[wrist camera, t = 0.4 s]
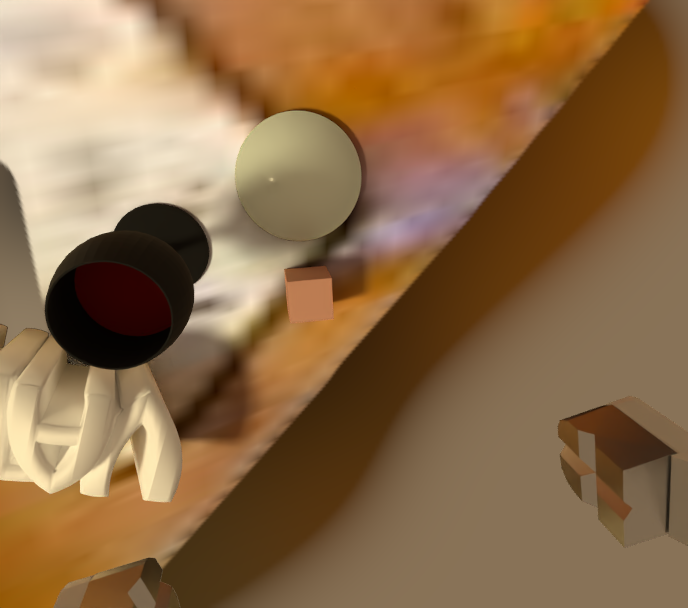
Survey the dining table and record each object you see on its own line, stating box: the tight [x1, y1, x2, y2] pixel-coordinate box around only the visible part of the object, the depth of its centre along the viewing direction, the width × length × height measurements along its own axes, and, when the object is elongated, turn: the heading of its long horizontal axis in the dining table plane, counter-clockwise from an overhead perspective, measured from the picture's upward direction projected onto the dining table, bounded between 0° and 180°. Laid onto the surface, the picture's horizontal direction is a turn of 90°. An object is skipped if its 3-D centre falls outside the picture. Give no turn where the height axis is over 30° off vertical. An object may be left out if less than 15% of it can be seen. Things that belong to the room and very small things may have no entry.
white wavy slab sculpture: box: [0, 324, 182, 502], centre depth 50 cm, size 35×16×11 cm, turn 70°
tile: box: [235, 111, 362, 241], centre depth 51 cm, size 14×14×1 cm
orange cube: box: [284, 266, 334, 323], centre depth 54 cm, size 5×5×5 cm
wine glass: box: [45, 204, 209, 370], centre depth 43 cm, size 10×10×20 cm
